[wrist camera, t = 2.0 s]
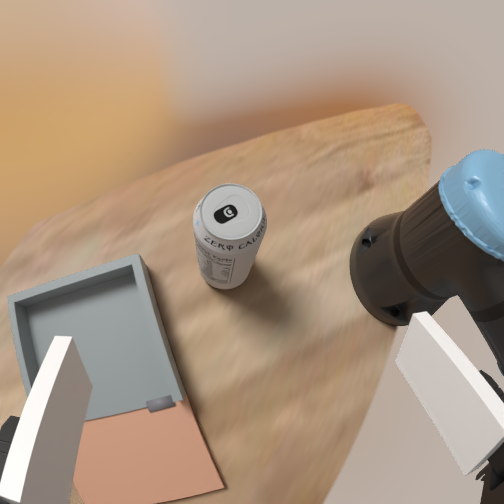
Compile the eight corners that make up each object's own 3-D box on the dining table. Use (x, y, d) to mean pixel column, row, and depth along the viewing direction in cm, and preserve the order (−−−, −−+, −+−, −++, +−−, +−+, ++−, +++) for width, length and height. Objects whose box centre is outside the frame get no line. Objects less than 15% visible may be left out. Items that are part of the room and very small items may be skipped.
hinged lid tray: (146, 265, 37) (138, 253, 33) (223, 484, 30) (225, 498, 26) (25, 303, 34) (7, 296, 29) (91, 507, 26) (79, 521, 22)
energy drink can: (259, 274, 39) (285, 222, 25) (216, 300, 37) (218, 262, 23) (232, 234, 40) (242, 165, 26) (190, 258, 38) (177, 199, 24)
